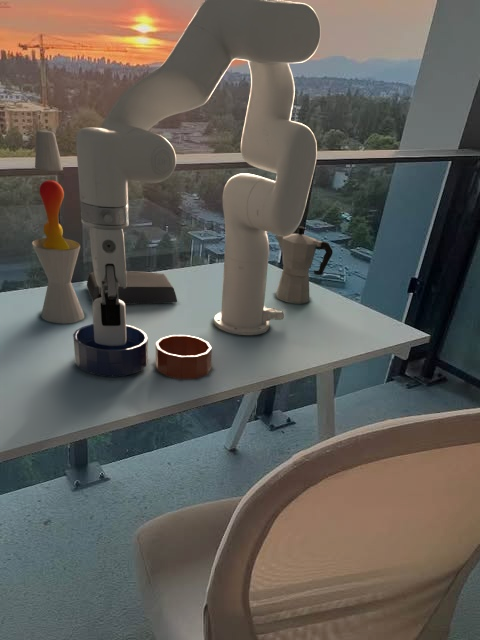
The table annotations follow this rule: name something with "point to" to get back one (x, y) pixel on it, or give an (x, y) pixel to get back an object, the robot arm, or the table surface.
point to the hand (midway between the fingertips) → (109, 319)
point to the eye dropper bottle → (109, 333)
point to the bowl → (111, 353)
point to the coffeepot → (299, 265)
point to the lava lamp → (55, 240)
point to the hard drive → (139, 288)
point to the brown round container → (183, 356)
